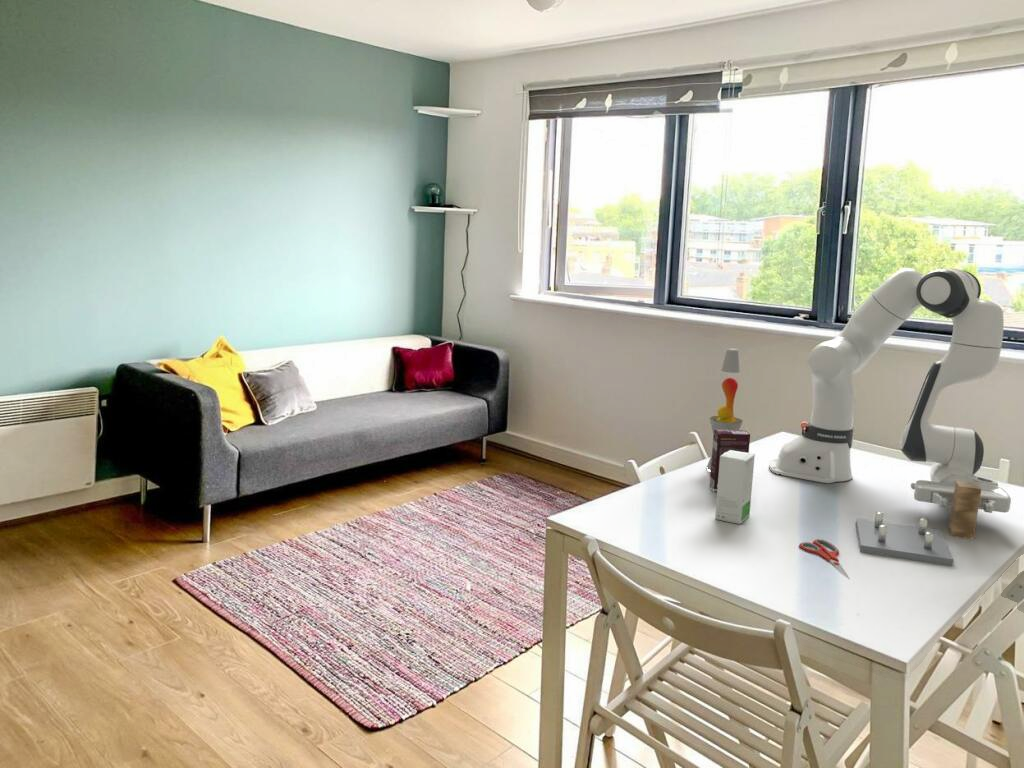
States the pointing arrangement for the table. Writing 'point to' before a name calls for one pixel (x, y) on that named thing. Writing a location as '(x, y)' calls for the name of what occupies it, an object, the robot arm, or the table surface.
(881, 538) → the standoff pins
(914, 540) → the plate
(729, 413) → the lava lamp
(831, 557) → the scissors
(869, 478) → the table surface
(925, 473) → the table surface
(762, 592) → the table surface
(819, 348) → the robot arm
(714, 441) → the supplement box
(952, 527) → the oak block
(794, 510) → the table surface
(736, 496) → the skincare box
